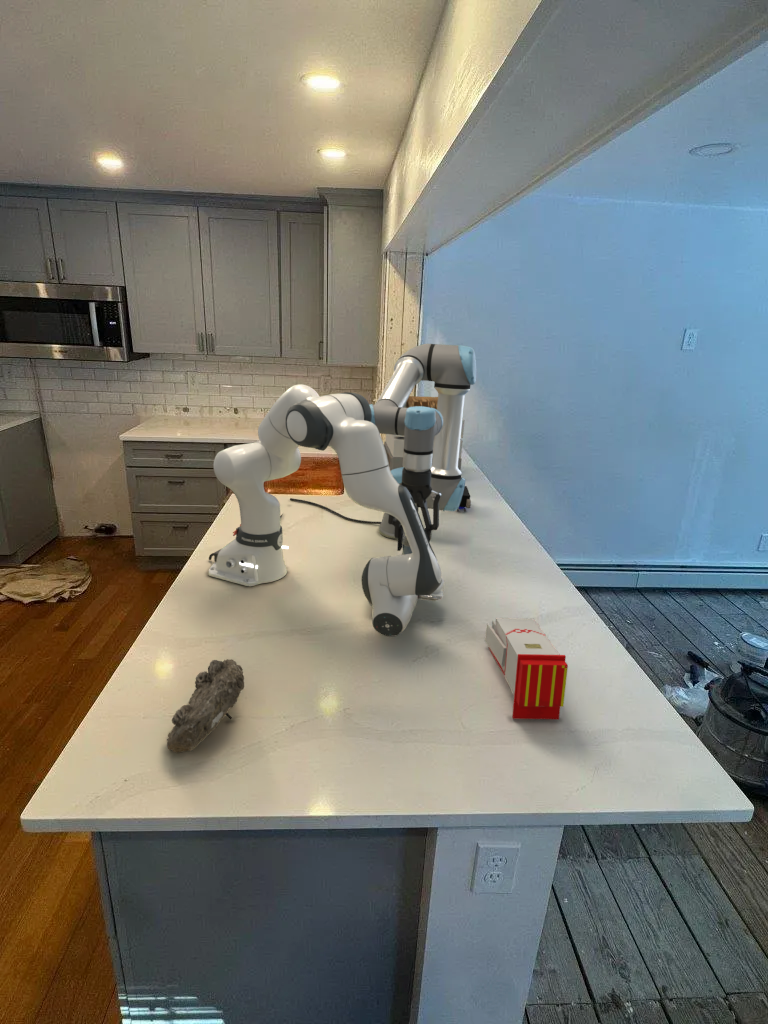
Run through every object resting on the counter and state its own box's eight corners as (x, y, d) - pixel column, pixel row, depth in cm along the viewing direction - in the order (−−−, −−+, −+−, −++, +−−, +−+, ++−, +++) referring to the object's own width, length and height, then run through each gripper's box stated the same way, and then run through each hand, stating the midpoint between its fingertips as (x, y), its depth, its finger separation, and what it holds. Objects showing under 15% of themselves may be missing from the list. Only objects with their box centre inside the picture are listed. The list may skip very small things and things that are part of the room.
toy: (531, 603, 136) (576, 661, 106) (526, 655, 139) (569, 725, 109) (481, 602, 135) (512, 660, 106) (477, 654, 138) (507, 724, 109)
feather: (290, 508, 223) (292, 504, 223) (272, 532, 197) (275, 527, 196) (286, 505, 223) (289, 501, 223) (268, 529, 197) (271, 525, 196)
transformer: (382, 463, 289) (386, 382, 275) (445, 464, 293) (451, 384, 279) (390, 482, 257) (394, 392, 243) (460, 483, 261) (468, 394, 247)
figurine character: (470, 516, 223) (465, 500, 237) (473, 499, 220) (467, 484, 233) (453, 516, 223) (449, 500, 236) (455, 498, 220) (451, 483, 233)
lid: (412, 549, 149) (413, 541, 148) (396, 542, 153) (396, 534, 152) (428, 543, 153) (429, 536, 152) (411, 536, 157) (412, 529, 156)
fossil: (192, 660, 117) (244, 628, 112) (224, 691, 120) (276, 661, 115) (142, 746, 98) (202, 712, 93) (182, 779, 101) (242, 748, 96)
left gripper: (442, 589, 141) (449, 566, 153) (363, 577, 145) (375, 556, 157) (440, 611, 143) (447, 587, 156) (362, 599, 147) (375, 576, 160)
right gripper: (455, 468, 147) (448, 550, 155) (384, 460, 151) (381, 540, 159) (451, 475, 140) (444, 561, 148) (377, 467, 144) (374, 551, 152)
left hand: (410, 571), depth 157 cm, fingers closed on jar, 5 cm apart
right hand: (411, 550), depth 153 cm, fingers closed on lid, 6 cm apart
